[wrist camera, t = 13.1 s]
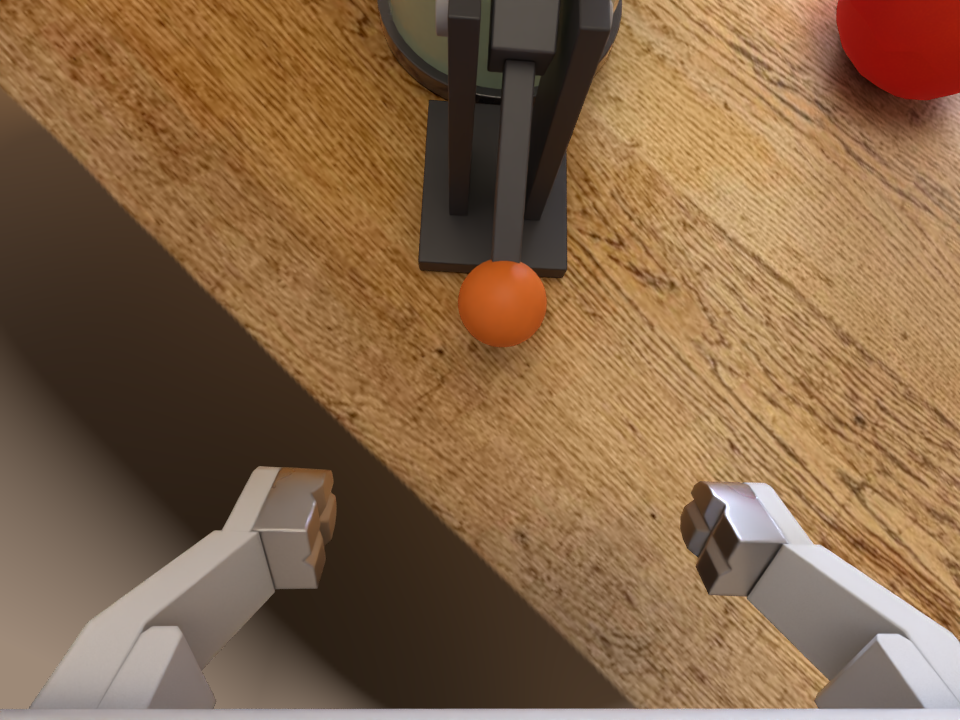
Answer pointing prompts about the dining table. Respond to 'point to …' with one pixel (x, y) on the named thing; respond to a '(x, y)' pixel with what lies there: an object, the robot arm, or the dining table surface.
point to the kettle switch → (511, 177)
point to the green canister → (426, 54)
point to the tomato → (904, 44)
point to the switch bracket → (474, 143)
